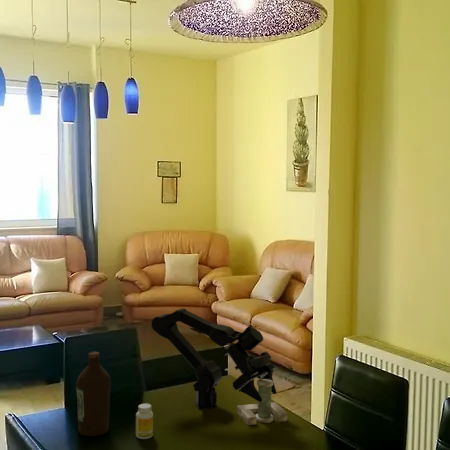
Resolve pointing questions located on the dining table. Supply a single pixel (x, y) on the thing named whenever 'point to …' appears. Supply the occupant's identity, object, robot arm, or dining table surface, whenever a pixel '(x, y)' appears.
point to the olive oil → (93, 398)
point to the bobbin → (264, 401)
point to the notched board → (252, 409)
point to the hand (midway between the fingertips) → (268, 397)
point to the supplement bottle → (144, 422)
